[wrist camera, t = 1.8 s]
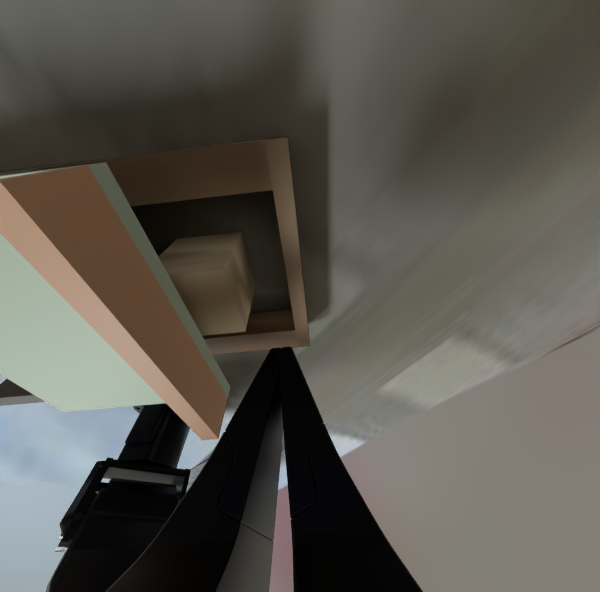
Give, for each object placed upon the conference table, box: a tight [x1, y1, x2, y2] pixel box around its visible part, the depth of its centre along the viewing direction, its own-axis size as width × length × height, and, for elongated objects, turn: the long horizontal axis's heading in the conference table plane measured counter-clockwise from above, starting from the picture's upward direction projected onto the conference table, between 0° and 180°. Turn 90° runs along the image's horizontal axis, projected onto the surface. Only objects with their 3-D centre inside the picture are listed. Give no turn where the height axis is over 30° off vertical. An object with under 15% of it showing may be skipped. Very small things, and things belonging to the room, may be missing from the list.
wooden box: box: [0, 136, 310, 406], centre depth 14 cm, size 14×24×6 cm, turn 96°
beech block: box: [159, 232, 256, 336], centre depth 14 cm, size 4×4×5 cm
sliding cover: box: [0, 162, 230, 440], centre depth 10 cm, size 14×12×3 cm
